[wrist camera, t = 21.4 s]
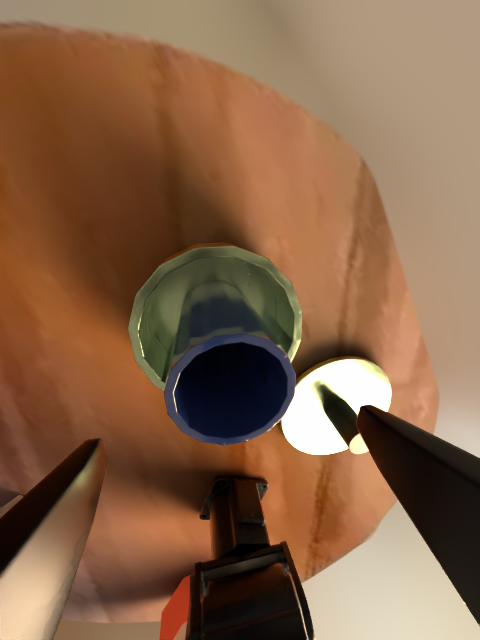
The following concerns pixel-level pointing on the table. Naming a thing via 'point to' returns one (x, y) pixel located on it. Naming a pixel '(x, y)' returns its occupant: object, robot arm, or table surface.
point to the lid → (334, 404)
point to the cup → (226, 369)
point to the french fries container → (176, 613)
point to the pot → (199, 268)
